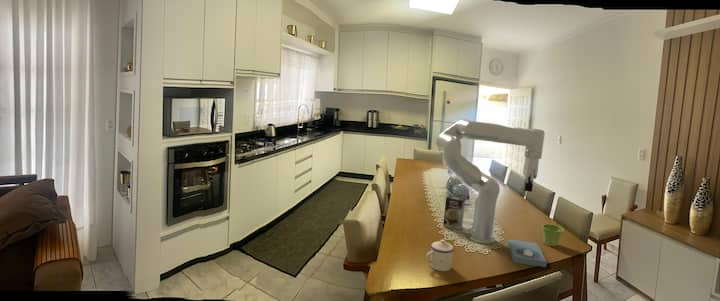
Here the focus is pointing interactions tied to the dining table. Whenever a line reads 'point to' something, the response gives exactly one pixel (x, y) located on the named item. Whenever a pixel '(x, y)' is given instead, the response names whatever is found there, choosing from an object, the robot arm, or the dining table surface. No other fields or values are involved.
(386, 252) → the dining table surface
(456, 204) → the coffee box
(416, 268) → the dining table surface
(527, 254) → the ball
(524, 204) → the dining table surface
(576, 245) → the dining table surface
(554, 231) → the plant pot
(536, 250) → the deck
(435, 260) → the teacup with lid
